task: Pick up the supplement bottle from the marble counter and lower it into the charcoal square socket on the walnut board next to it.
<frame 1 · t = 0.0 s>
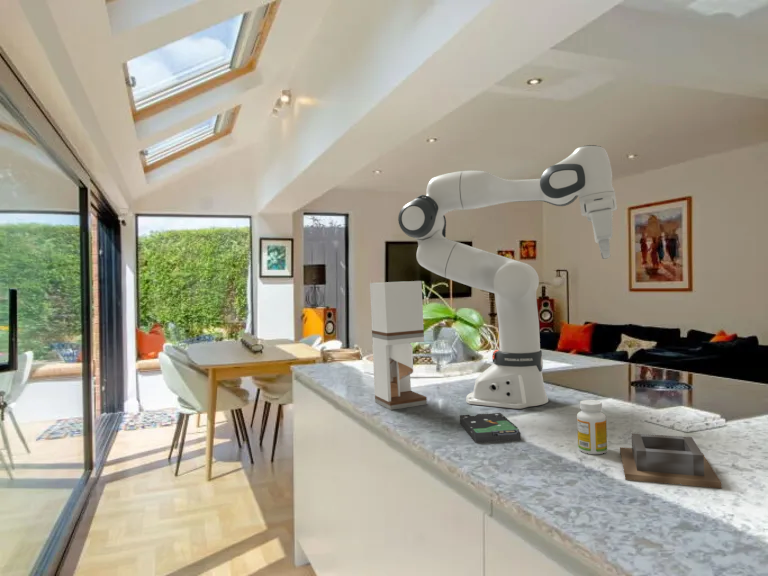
hand: (606, 258, 135), 39 cm above the counter, tool pointing down, fingers open, 8 cm apart
supplement bottle: (592, 451, 102), on the counter
white tower: (400, 403, 148), on the counter
disk drive: (488, 434, 118), on the counter
socket board: (665, 468, 91), on the counter
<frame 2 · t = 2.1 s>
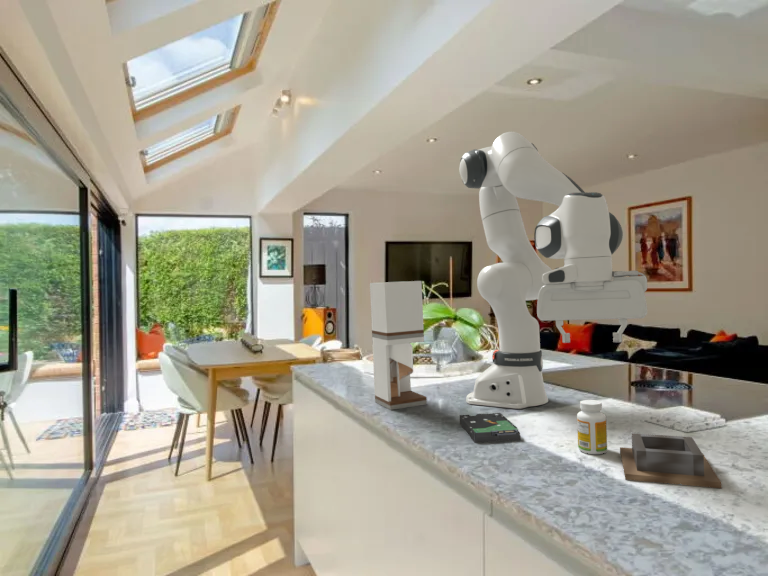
hand: (591, 342, 102), 22 cm above the counter, tool pointing down, fingers open, 8 cm apart
nothing on the counter moved.
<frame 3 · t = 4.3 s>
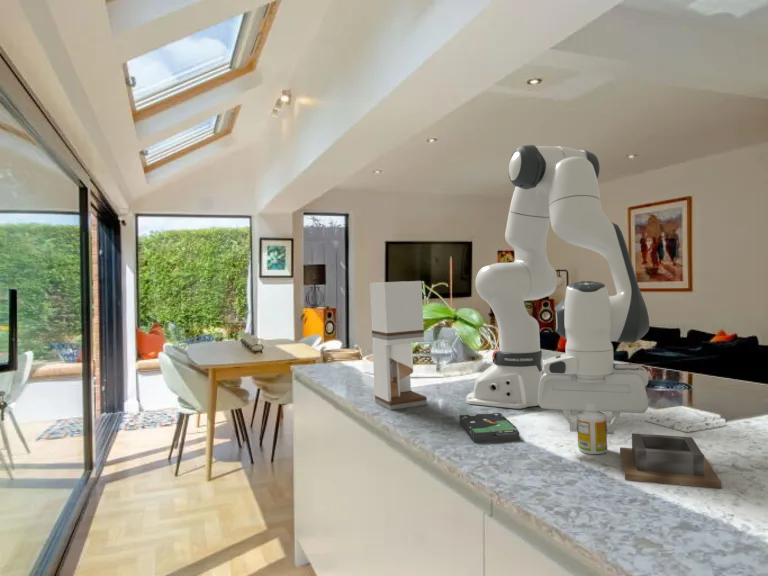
hand: (591, 432, 102), 4 cm above the counter, tool pointing down, fingers closed on supplement bottle, 5 cm apart
supplement bottle: (592, 451, 102), on the counter, touching gripper
everything else where it was.
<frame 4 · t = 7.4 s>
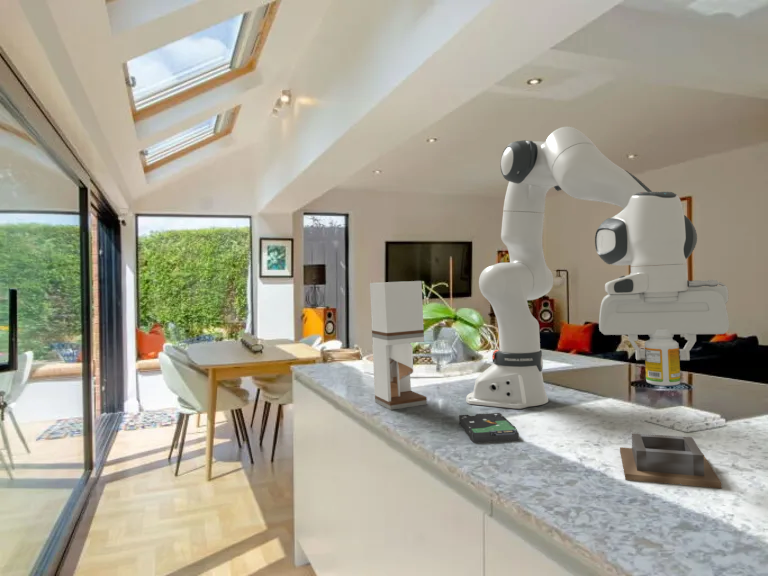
hand: (662, 359, 91), 19 cm above the counter, tool pointing down, fingers closed on supplement bottle, 5 cm apart
supplement bottle: (663, 384, 91), point 15 cm above the counter, touching gripper
everything else where it was.
when the fingers open (6 cm above the counter, at t = 10.6 s): supplement bottle drops 1 cm, resting on socket board.
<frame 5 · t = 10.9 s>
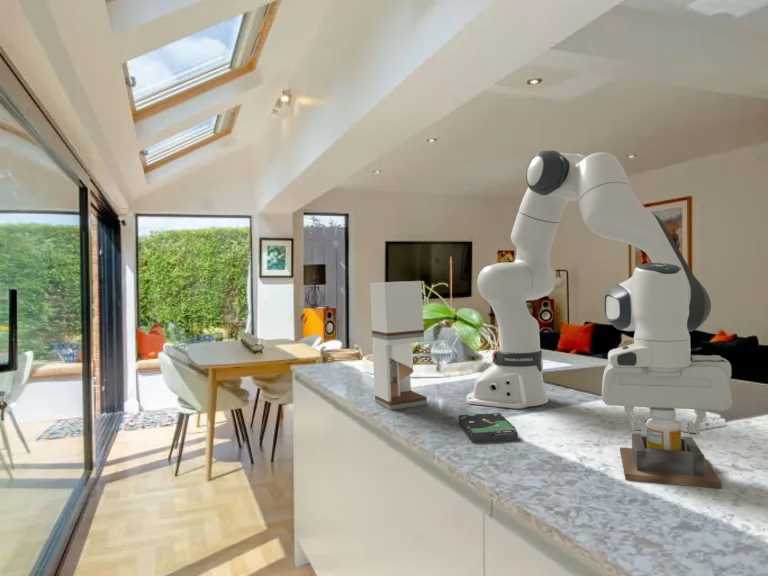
hand: (664, 431, 91), 7 cm above the counter, tool pointing down, fingers open, 8 cm apart
supplement bottle: (664, 463, 91), point 1 cm above the counter, touching socket board
everything else where it was.
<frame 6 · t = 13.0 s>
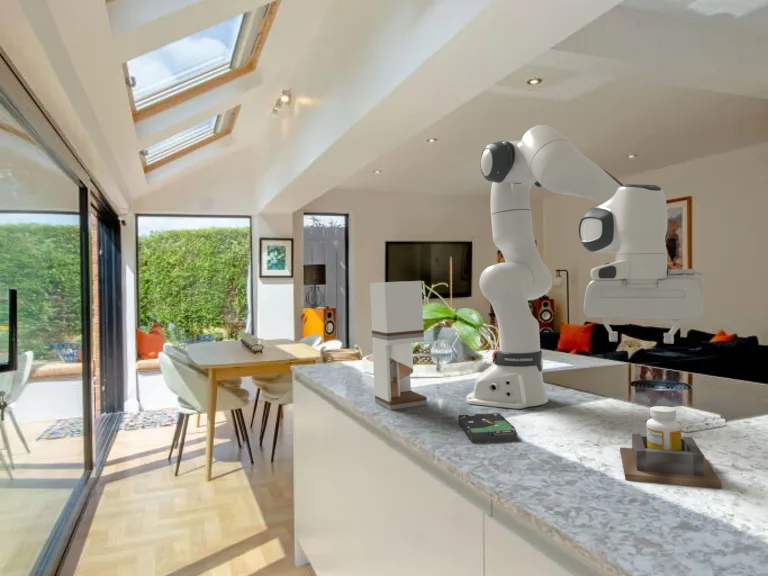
hand: (640, 342, 98), 22 cm above the counter, tool pointing down, fingers open, 8 cm apart
nothing on the counter moved.
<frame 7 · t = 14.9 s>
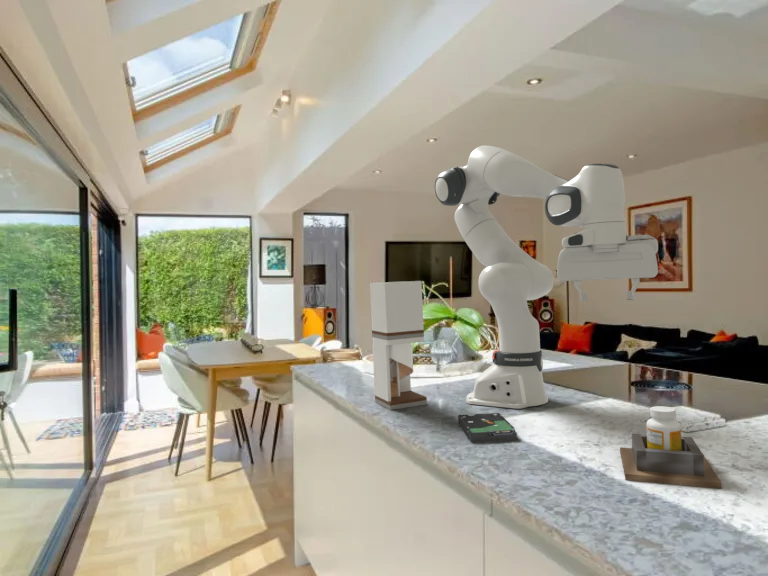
hand: (606, 300, 112), 29 cm above the counter, tool pointing down, fingers open, 8 cm apart
nothing on the counter moved.
at the end: supplement bottle 0.2 cm off-centre on the socket board, point 0.8 cm above the socket board's base; supplement bottle tilted 0°; the gripper is holding nothing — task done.
